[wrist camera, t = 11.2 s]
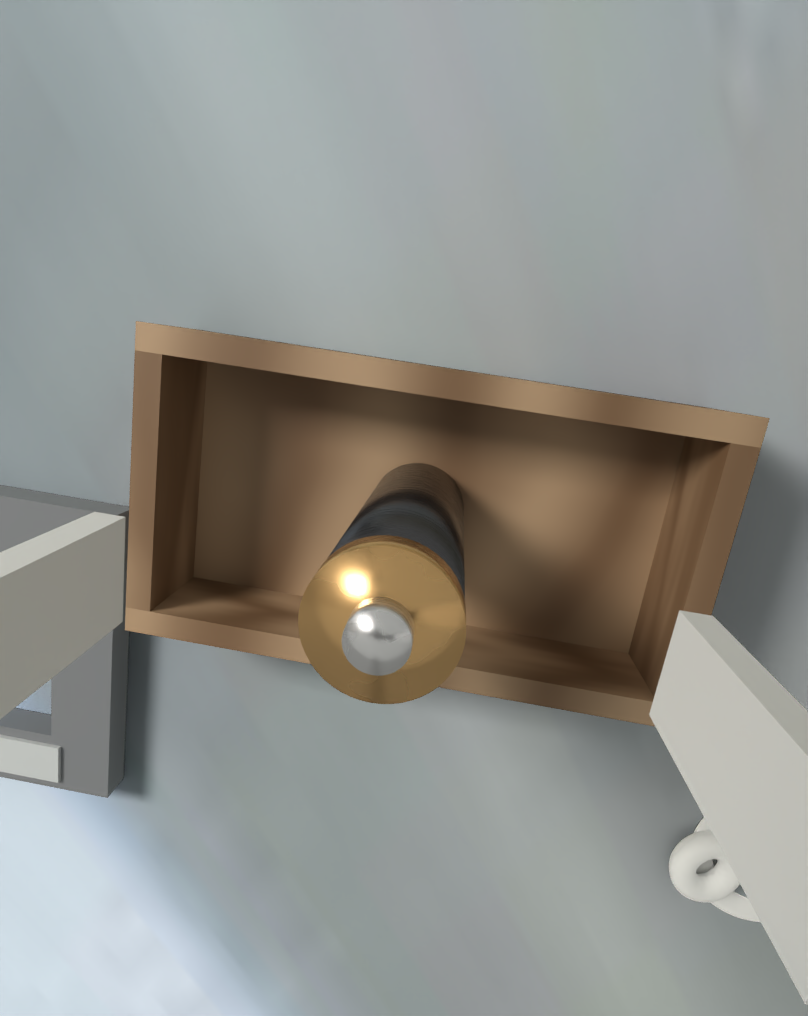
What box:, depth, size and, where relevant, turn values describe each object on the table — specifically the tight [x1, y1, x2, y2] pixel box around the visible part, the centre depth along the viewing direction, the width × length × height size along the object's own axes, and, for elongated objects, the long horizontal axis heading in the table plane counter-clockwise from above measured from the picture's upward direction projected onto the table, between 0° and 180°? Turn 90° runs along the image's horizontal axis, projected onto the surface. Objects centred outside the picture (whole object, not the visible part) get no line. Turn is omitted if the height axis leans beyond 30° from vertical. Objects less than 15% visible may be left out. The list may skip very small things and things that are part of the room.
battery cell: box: [298, 463, 466, 704], centre depth 20 cm, size 4×4×13 cm
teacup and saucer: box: [669, 817, 761, 922], centre depth 28 cm, size 9×8×4 cm
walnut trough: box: [125, 321, 770, 726], centre depth 24 cm, size 22×12×5 cm, turn 81°
